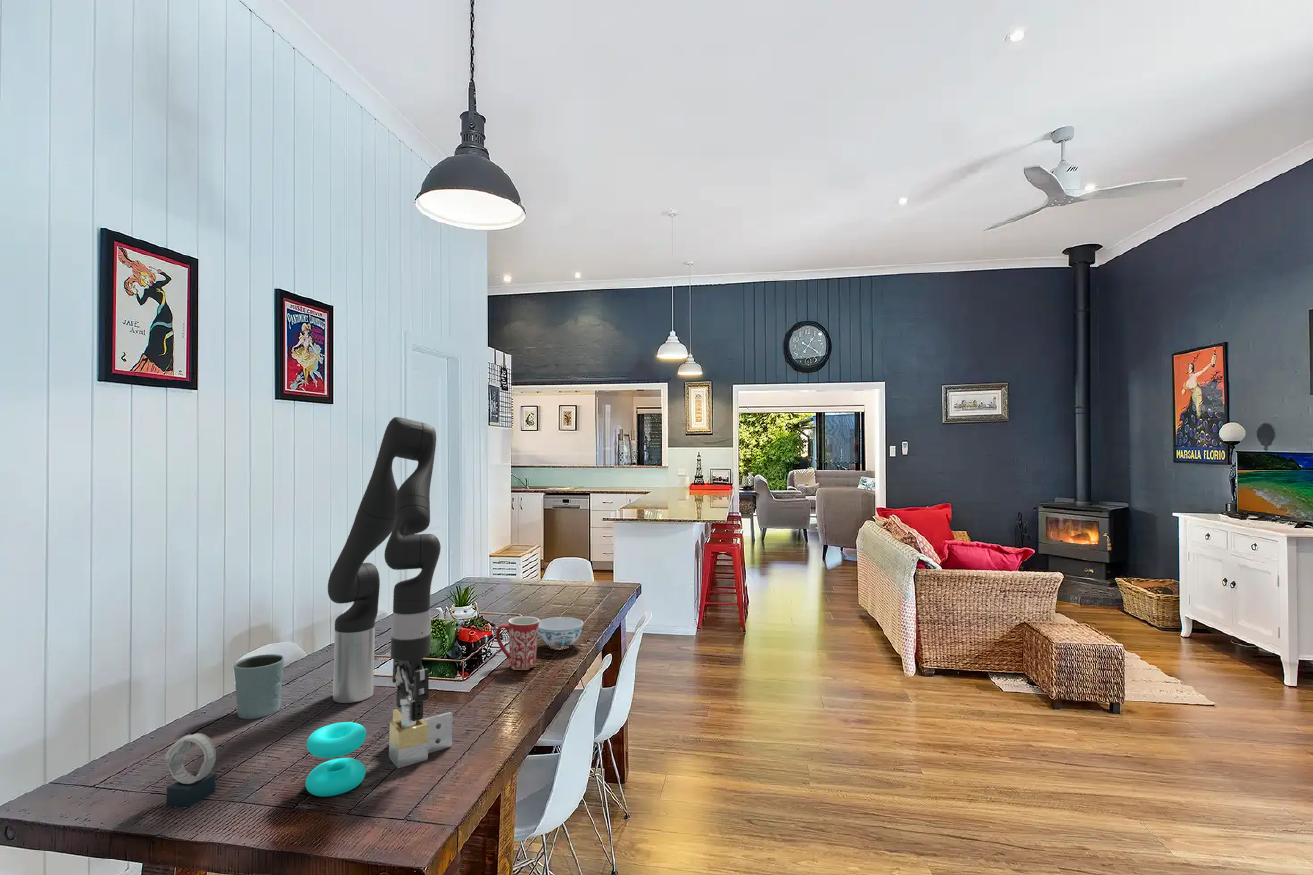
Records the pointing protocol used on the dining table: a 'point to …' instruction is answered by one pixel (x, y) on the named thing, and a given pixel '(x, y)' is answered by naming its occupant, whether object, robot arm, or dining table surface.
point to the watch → (197, 783)
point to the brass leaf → (407, 732)
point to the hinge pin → (406, 713)
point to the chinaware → (559, 630)
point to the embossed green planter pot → (258, 685)
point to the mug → (520, 641)
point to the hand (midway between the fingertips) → (409, 712)
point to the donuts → (340, 771)
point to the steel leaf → (436, 741)
